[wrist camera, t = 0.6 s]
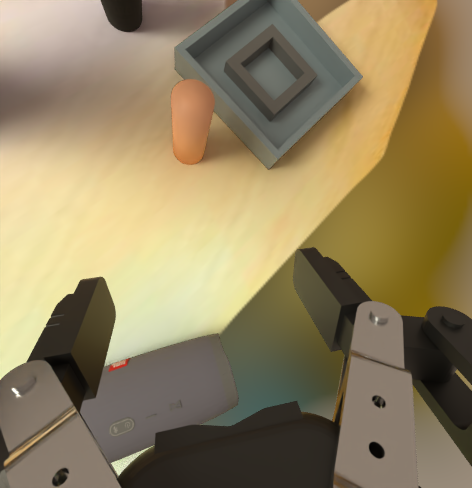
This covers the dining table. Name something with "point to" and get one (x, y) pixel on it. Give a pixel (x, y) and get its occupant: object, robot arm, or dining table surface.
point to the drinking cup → (123, 13)
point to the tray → (267, 72)
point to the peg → (191, 119)
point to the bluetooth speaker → (158, 395)
